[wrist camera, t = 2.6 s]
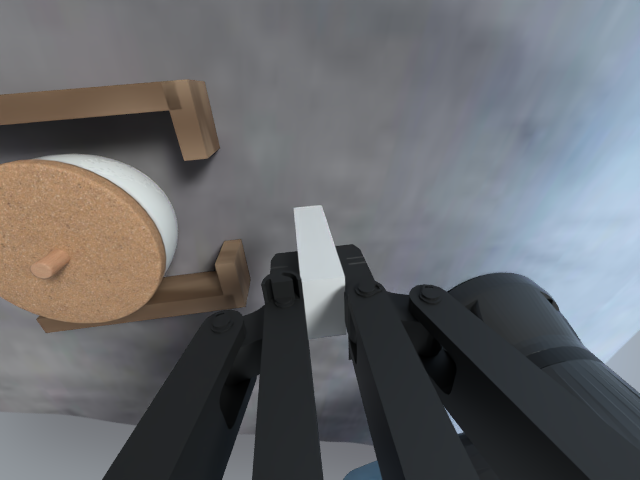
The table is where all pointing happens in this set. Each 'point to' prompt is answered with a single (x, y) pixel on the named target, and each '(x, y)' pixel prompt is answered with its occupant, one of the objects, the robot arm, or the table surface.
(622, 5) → the table surface
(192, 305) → the cradle
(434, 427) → the robot arm
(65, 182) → the lidded jar
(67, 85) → the table surface
